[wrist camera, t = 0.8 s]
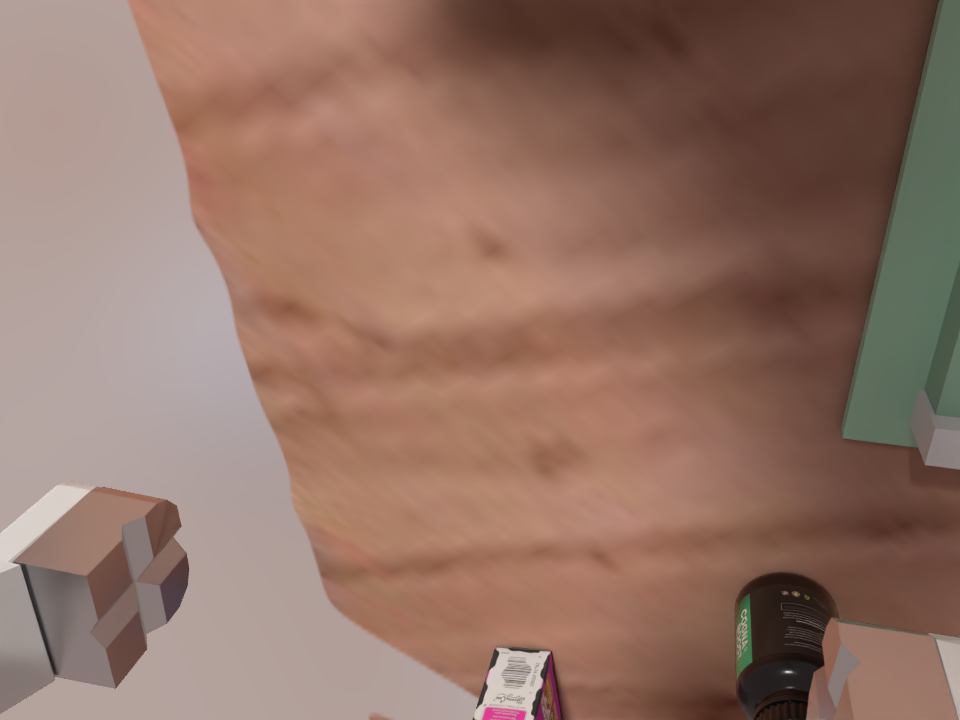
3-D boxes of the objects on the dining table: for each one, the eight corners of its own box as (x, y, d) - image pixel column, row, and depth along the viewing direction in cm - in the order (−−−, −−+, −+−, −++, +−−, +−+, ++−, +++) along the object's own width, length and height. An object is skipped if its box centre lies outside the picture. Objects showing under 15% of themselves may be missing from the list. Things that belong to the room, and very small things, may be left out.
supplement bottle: (715, 590, 62) (714, 726, 52) (803, 555, 59) (820, 692, 48) (767, 654, 63) (776, 799, 53) (855, 623, 60) (882, 770, 50)
